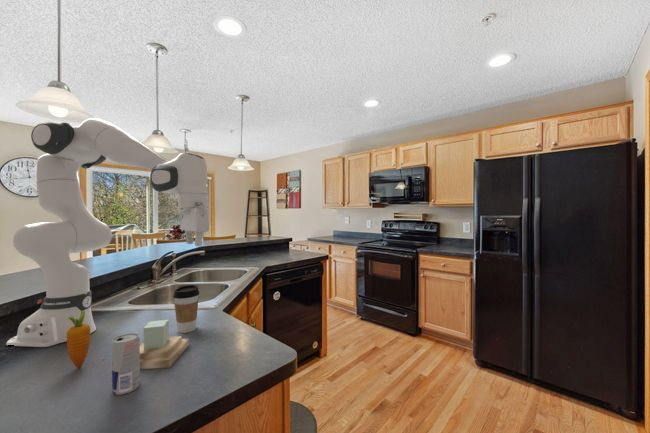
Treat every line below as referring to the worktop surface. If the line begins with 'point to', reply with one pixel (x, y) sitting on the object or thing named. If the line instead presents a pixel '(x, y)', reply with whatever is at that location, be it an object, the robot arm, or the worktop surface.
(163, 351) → the stand
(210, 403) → the worktop surface
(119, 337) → the energy drink
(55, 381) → the worktop surface
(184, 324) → the coffee cup
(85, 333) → the carrot
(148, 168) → the robot arm
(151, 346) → the block
